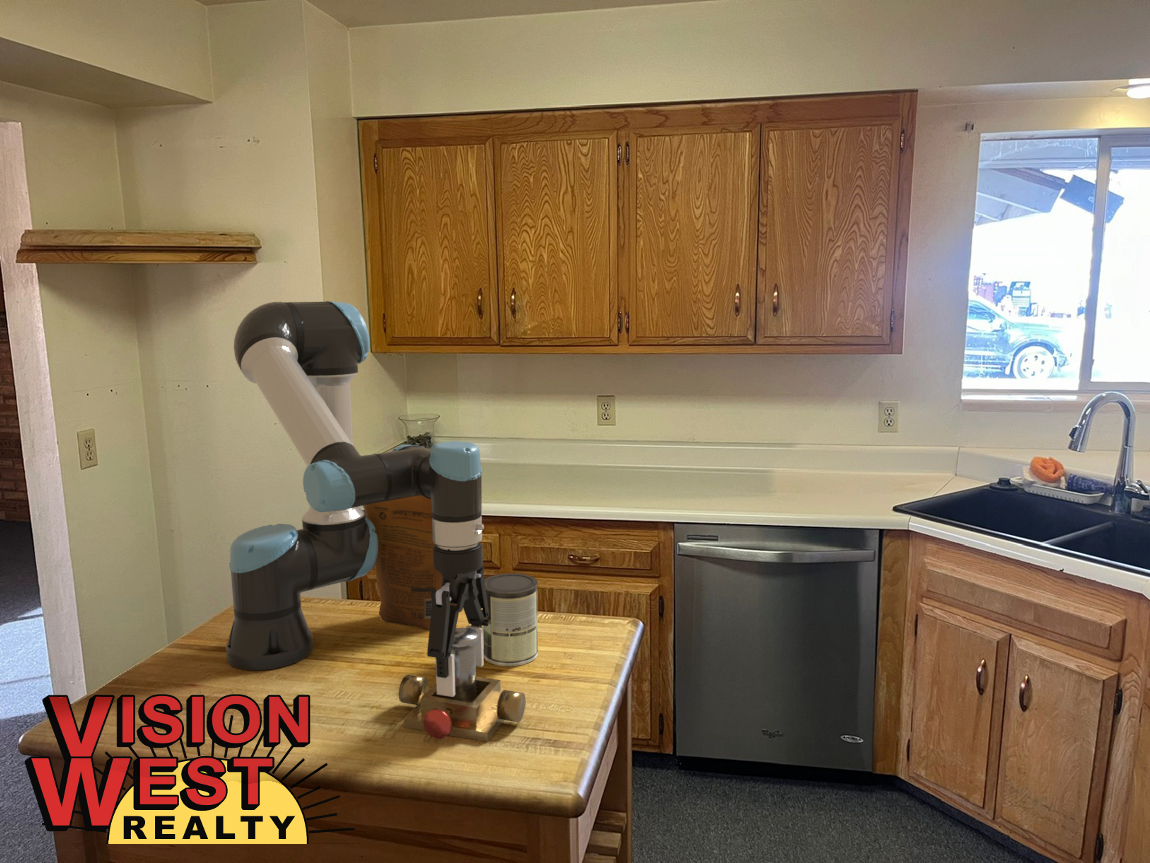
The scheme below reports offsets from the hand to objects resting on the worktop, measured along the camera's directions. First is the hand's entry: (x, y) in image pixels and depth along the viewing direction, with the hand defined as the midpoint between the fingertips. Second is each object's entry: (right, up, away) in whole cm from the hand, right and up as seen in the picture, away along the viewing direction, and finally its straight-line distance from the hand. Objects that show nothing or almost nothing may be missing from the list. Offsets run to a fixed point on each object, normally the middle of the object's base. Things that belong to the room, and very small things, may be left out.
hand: (461, 679), depth 128 cm
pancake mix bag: (-16, 0, +37) cm, 40 cm away
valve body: (0, -6, 0) cm, 6 cm away
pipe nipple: (0, -5, +1) cm, 5 cm away
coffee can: (+6, -3, +23) cm, 24 cm away
